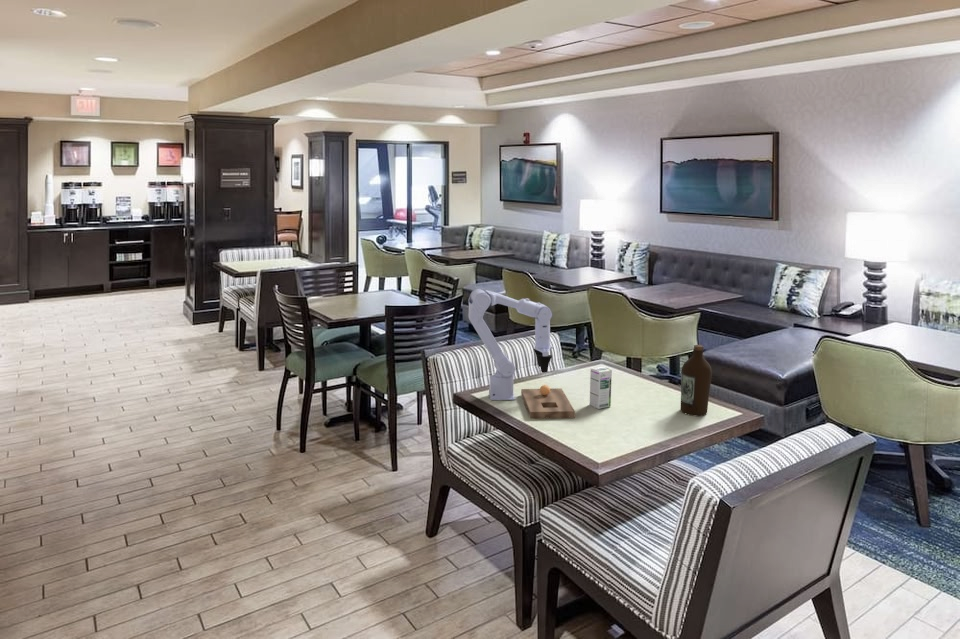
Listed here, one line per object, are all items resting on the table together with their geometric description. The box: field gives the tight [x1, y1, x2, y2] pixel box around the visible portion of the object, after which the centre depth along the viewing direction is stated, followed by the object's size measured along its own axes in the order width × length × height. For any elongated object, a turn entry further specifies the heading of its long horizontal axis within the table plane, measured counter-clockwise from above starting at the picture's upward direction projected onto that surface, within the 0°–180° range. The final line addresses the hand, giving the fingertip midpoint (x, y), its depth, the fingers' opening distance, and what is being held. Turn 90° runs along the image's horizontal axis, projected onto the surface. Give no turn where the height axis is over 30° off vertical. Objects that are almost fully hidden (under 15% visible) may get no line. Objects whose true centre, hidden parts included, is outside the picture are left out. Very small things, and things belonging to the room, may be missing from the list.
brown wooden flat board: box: [520, 387, 576, 419], centre depth 253 cm, size 16×26×2 cm, turn 4°
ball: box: [539, 384, 551, 396], centre depth 257 cm, size 4×4×4 cm
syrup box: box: [589, 366, 613, 410], centre depth 252 cm, size 6×6×14 cm
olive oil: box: [679, 344, 713, 416], centre depth 245 cm, size 11×11×25 cm
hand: (542, 369), depth 264 cm, fingers open, 7 cm apart
